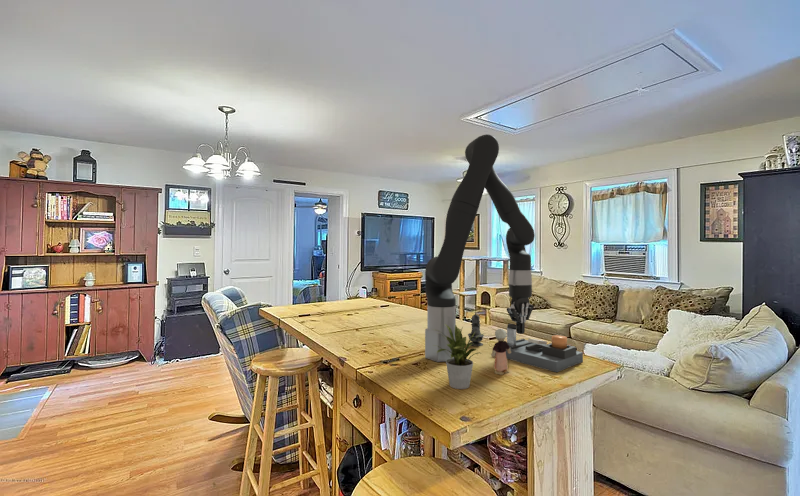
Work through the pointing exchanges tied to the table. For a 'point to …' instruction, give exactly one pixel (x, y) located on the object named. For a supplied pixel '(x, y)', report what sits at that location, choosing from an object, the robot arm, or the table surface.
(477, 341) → the dark grey ornate statuette
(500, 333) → the grandmother figurine
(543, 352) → the control panel
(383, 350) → the table surface
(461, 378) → the house plant
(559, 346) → the push button
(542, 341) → the rocker switch
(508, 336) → the slide lever
